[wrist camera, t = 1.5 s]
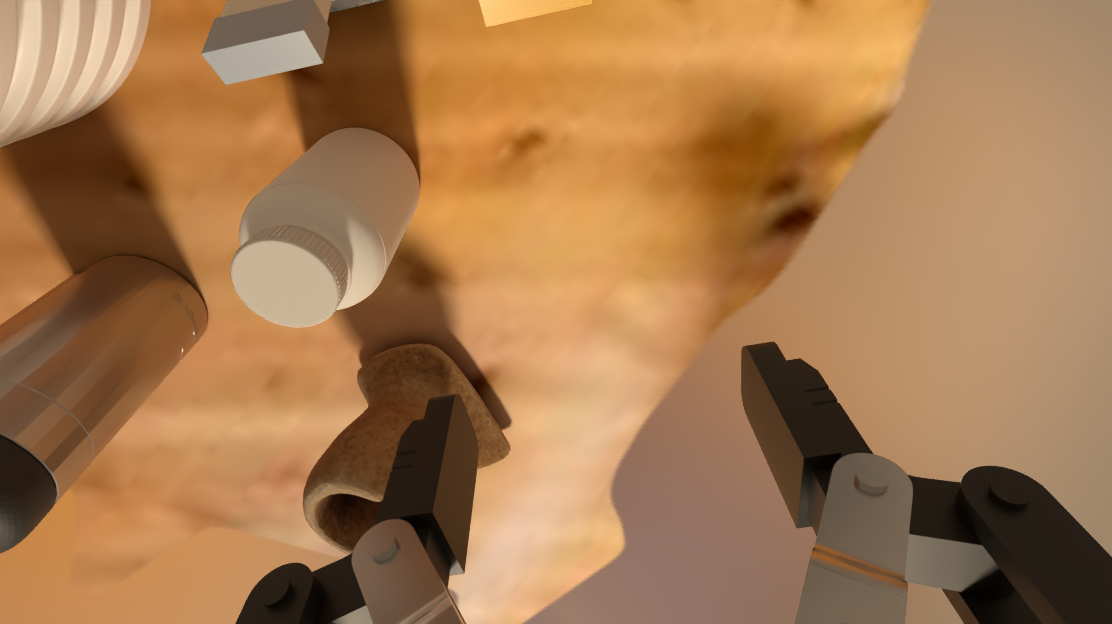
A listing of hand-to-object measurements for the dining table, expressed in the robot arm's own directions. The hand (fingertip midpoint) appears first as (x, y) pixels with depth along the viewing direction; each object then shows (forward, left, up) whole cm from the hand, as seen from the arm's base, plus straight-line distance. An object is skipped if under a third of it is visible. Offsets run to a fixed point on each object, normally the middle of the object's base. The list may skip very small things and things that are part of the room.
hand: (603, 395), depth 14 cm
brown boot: (-13, -26, -28) cm, 41 cm away
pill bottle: (-14, -4, -28) cm, 32 cm away
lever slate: (-13, +11, -24) cm, 29 cm away
